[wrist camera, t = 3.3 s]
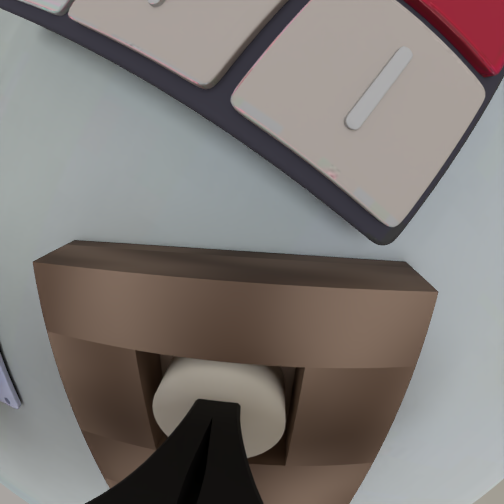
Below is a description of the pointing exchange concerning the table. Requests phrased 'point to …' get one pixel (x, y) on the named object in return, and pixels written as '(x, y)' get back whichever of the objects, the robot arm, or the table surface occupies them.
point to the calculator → (314, 83)
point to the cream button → (225, 397)
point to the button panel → (237, 349)
